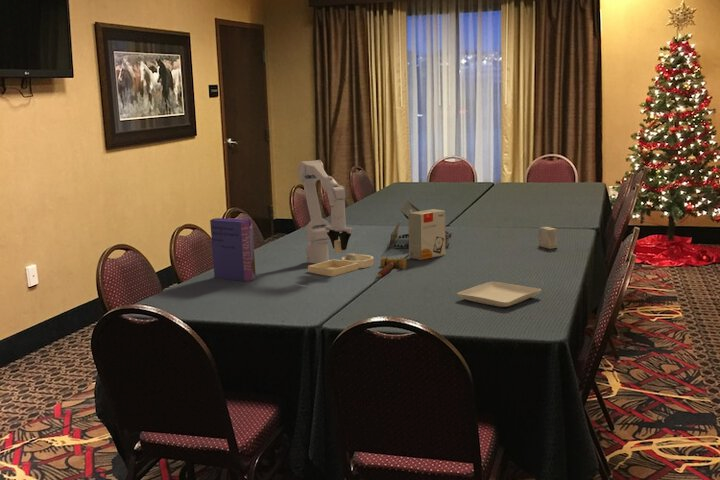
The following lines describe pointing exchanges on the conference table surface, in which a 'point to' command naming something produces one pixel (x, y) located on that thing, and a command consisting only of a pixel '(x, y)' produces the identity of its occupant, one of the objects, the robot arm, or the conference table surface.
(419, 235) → the hard drive box
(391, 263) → the gavel
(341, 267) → the tray
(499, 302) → the salad plate
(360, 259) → the bowl
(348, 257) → the stone
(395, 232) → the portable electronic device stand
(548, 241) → the medicine box
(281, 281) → the conference table surface
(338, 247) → the stone
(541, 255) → the conference table surface
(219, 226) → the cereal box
